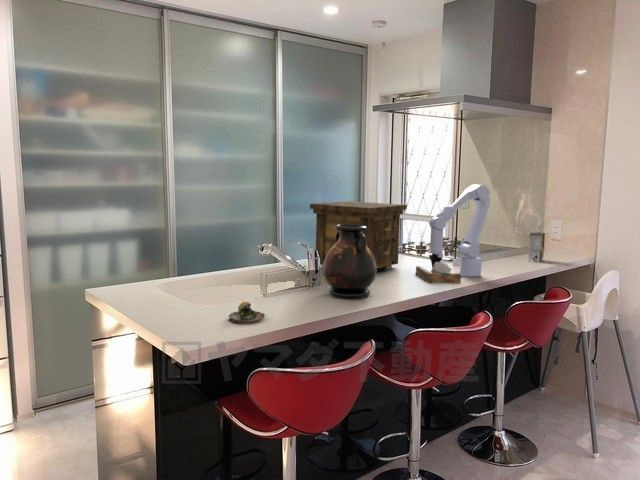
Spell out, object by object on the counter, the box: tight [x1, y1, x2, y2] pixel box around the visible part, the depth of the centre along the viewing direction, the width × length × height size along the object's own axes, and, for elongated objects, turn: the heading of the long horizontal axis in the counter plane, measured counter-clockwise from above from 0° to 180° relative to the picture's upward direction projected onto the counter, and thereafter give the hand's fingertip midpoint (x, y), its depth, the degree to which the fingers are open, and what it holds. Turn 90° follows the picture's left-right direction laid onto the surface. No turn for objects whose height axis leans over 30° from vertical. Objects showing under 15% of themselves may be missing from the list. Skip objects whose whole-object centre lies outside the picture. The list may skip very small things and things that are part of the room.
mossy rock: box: [228, 299, 266, 325], centre depth 174 cm, size 12×12×8 cm
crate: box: [309, 200, 408, 270], centre depth 267 cm, size 35×35×33 cm
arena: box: [415, 265, 462, 284], centre depth 248 cm, size 15×20×5 cm
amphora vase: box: [322, 224, 378, 300], centre depth 210 cm, size 22×22×28 cm
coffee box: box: [528, 231, 546, 262], centre depth 302 cm, size 9×6×16 cm
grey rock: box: [430, 261, 452, 273], centre depth 247 cm, size 8×9×10 cm
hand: (435, 270), depth 253 cm, fingers closed
